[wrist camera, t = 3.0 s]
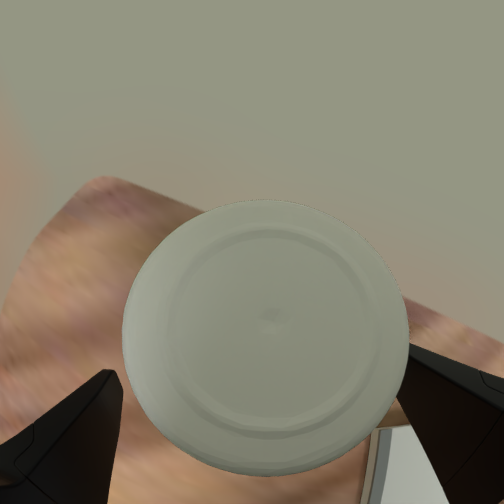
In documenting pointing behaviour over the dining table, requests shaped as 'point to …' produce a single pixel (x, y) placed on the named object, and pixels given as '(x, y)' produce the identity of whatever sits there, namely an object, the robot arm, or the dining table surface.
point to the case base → (399, 470)
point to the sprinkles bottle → (265, 338)
